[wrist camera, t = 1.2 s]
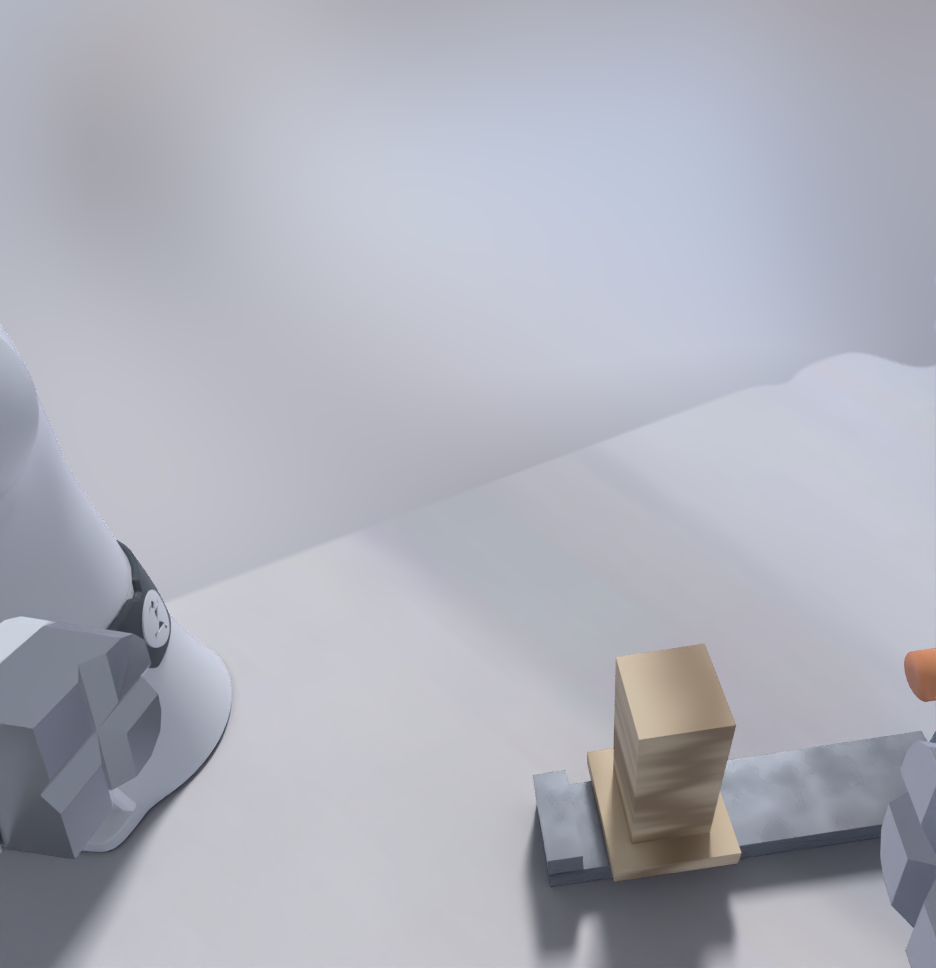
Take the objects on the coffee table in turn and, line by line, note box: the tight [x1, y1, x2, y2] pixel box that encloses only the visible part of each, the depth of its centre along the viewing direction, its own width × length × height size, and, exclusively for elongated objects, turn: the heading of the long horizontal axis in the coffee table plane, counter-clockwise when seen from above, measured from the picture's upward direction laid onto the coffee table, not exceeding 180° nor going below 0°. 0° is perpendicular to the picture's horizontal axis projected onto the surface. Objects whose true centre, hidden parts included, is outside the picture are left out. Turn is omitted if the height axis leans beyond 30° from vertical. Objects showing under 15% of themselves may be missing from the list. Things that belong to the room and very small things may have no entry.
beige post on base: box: [587, 644, 741, 882], centre depth 41 cm, size 7×7×14 cm
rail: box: [533, 731, 927, 887], centre depth 46 cm, size 24×5×4 cm, turn 96°
